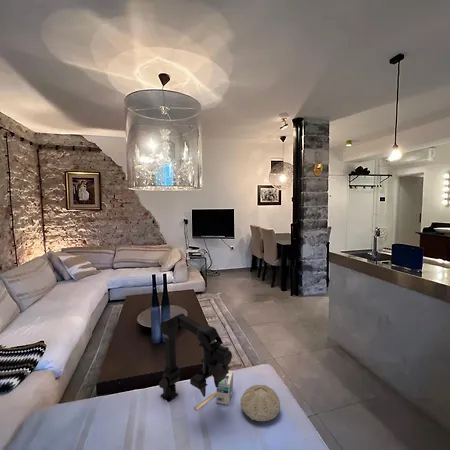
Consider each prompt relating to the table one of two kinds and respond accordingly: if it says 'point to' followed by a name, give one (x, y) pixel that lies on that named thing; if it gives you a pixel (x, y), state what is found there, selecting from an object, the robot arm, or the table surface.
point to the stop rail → (205, 401)
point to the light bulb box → (225, 389)
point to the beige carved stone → (260, 403)
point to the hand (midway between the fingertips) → (210, 391)
